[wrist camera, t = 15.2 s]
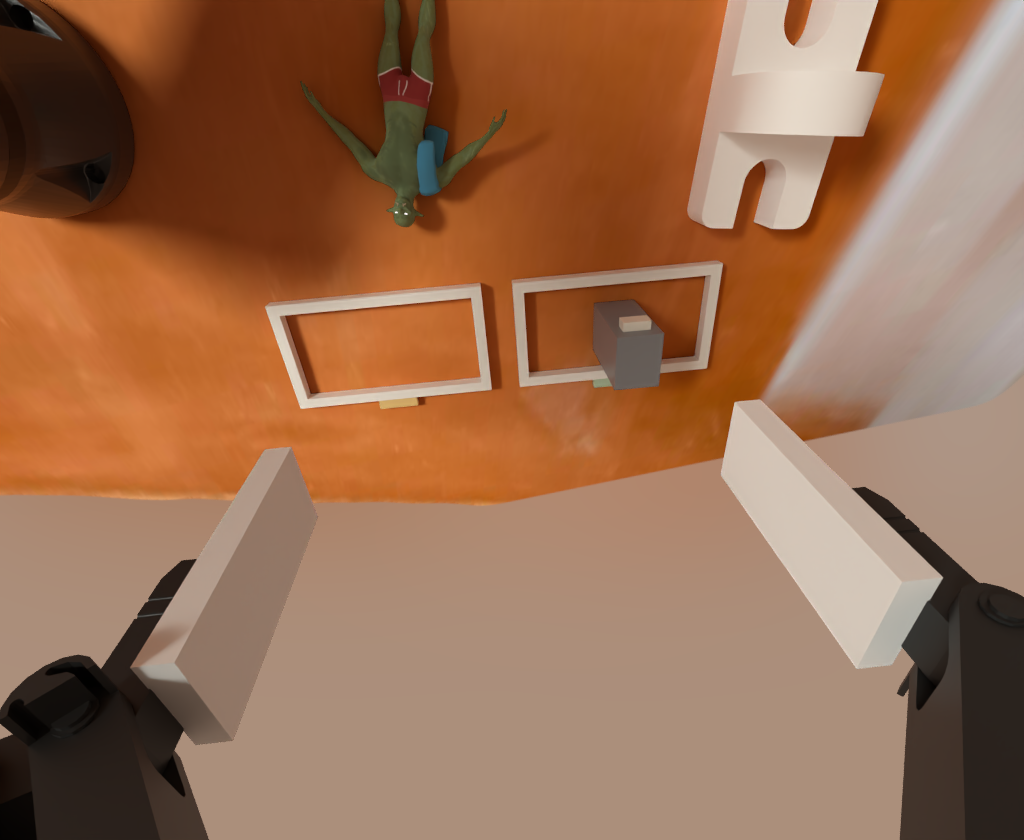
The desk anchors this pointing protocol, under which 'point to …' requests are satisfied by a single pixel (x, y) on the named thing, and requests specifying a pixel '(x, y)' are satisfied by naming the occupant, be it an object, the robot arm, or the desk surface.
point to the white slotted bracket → (780, 108)
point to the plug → (627, 344)
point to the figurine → (407, 122)
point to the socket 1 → (388, 394)
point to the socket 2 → (597, 373)
